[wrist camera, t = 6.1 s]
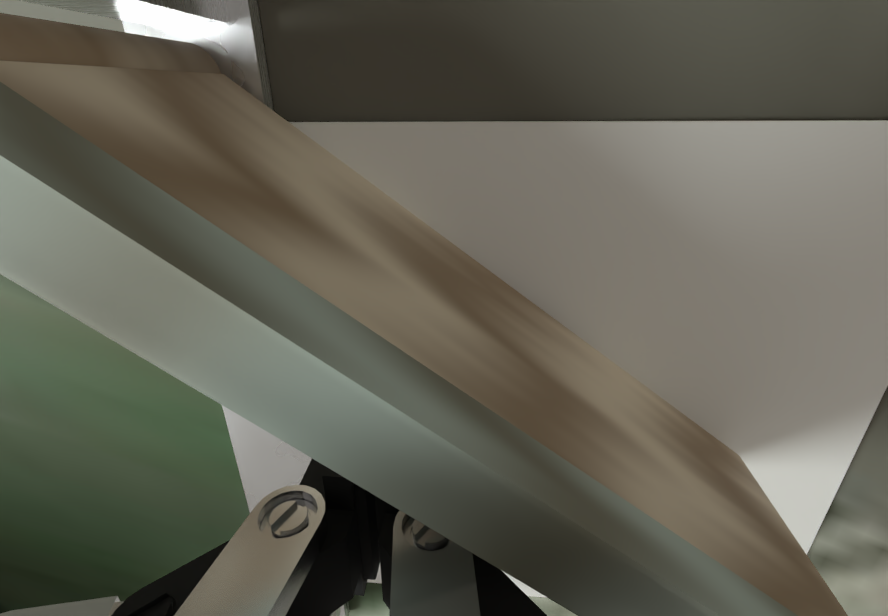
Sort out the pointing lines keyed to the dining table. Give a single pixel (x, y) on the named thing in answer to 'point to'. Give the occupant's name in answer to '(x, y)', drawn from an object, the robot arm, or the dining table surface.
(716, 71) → the dining table surface
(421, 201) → the mat
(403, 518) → the robot arm
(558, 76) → the dining table surface
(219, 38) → the gate frame
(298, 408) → the gate
